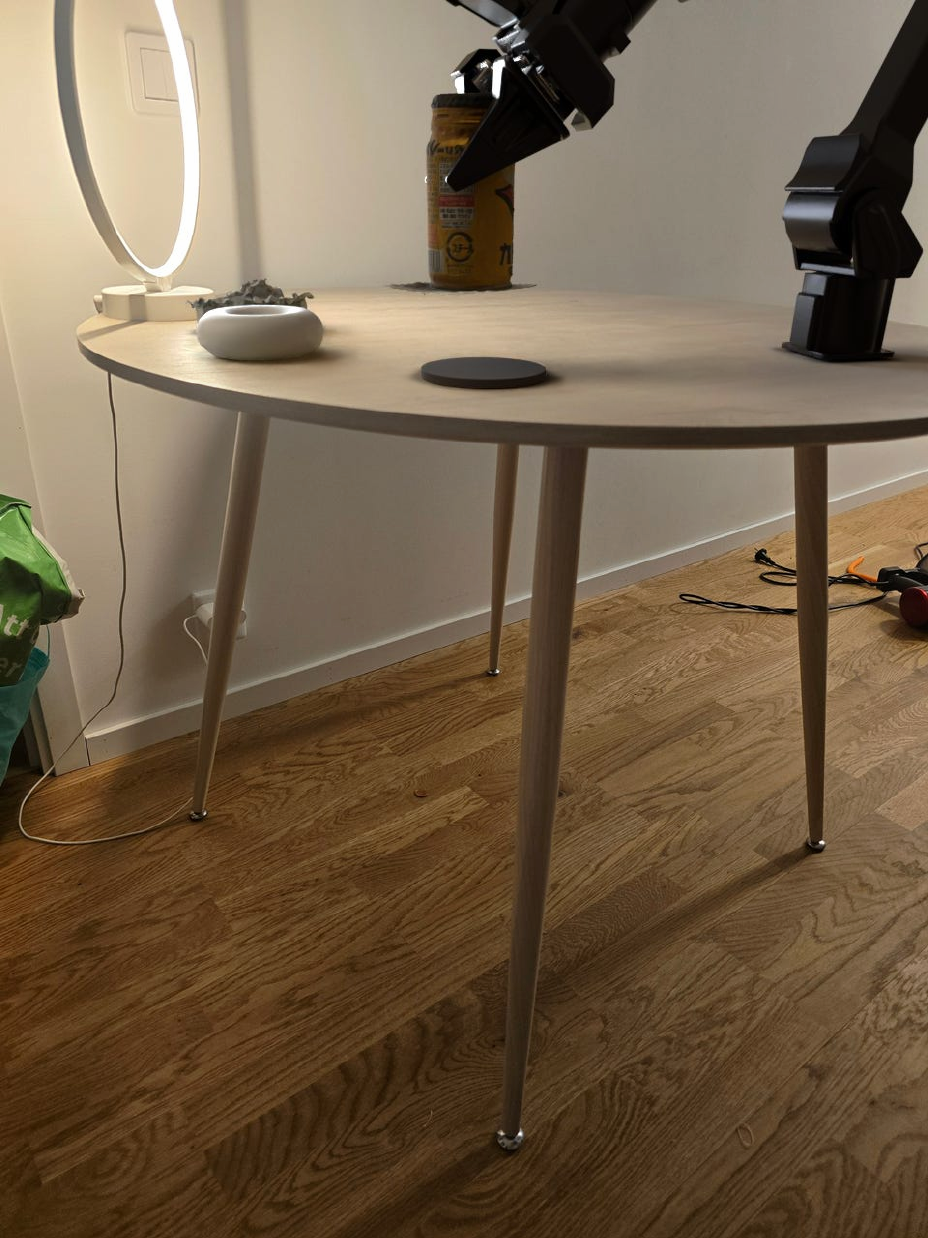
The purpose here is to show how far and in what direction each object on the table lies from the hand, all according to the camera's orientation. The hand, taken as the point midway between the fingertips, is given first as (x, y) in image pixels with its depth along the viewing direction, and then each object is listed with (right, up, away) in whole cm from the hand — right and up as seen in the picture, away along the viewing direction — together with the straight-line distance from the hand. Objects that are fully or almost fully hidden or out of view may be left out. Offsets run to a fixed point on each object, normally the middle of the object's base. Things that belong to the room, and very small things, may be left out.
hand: (439, 186), depth 60 cm
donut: (-15, -8, +12) cm, 20 cm away
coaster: (+3, -12, +4) cm, 13 cm away
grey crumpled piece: (-18, -2, +24) cm, 30 cm away
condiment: (+1, -6, +3) cm, 7 cm away
